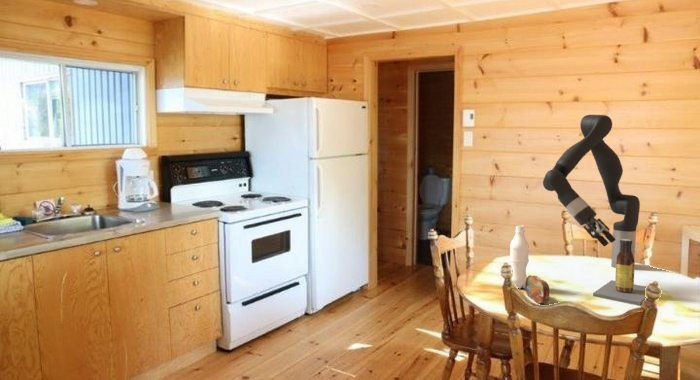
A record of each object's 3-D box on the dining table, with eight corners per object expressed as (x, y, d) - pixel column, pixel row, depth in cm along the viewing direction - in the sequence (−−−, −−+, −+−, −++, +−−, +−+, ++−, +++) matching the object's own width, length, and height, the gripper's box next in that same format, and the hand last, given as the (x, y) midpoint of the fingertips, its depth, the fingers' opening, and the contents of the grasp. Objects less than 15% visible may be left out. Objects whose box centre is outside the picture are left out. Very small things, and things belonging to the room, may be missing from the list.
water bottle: (527, 285, 208) (529, 224, 206) (527, 290, 202) (529, 228, 199) (509, 283, 211) (511, 223, 208) (508, 288, 204) (510, 227, 201)
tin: (524, 293, 198) (525, 272, 197) (532, 293, 198) (533, 272, 198) (542, 307, 183) (542, 284, 182) (550, 306, 184) (551, 283, 183)
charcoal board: (611, 283, 210) (611, 280, 210) (655, 291, 199) (655, 288, 199) (593, 296, 194) (593, 293, 194) (639, 305, 184) (640, 302, 183)
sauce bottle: (635, 293, 193) (638, 241, 191) (617, 292, 194) (620, 241, 192) (629, 288, 199) (632, 238, 197) (612, 287, 201) (615, 237, 198)
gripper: (581, 207, 198) (612, 240, 192) (594, 203, 208) (623, 234, 202) (567, 219, 202) (596, 252, 196) (580, 214, 212) (608, 245, 206)
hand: (610, 243), depth 199 cm, fingers open, 8 cm apart
